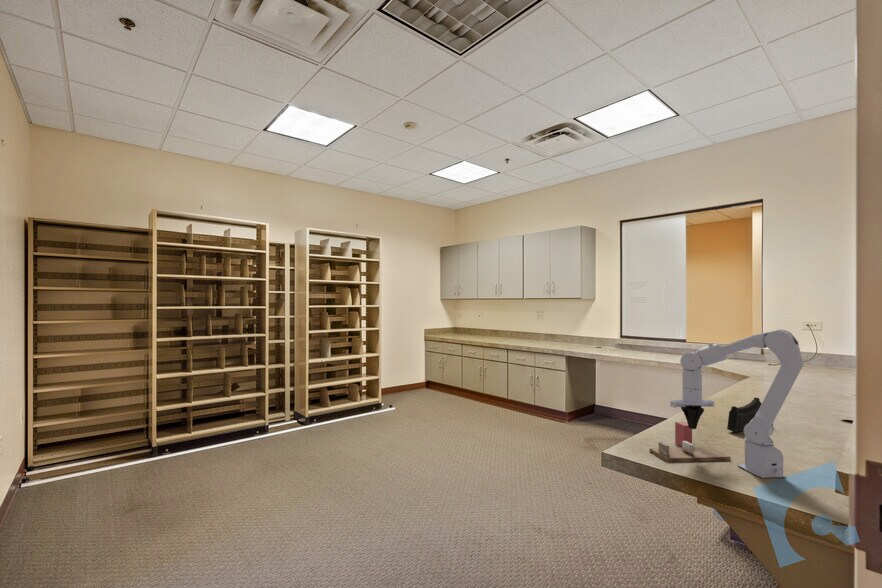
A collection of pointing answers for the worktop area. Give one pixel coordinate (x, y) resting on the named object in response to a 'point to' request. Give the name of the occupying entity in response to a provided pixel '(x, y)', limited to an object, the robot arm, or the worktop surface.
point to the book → (682, 433)
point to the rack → (688, 454)
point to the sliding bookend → (688, 447)
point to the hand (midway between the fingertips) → (692, 428)
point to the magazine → (742, 415)
